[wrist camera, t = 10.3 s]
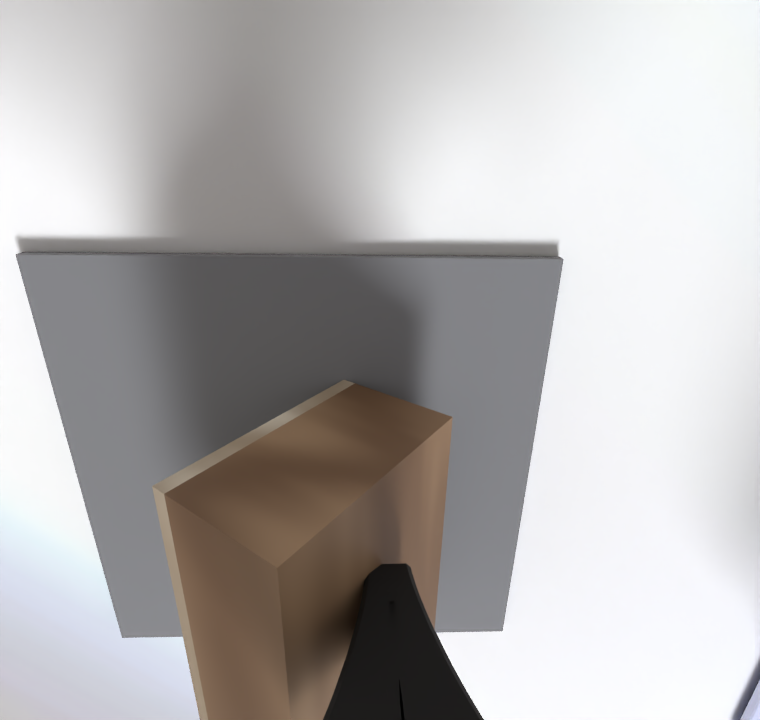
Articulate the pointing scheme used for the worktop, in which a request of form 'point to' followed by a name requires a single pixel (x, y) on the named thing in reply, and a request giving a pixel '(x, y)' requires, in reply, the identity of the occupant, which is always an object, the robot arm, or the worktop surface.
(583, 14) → the worktop surface
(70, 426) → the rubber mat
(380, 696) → the robot arm
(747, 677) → the worktop surface
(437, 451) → the brown wooden block
